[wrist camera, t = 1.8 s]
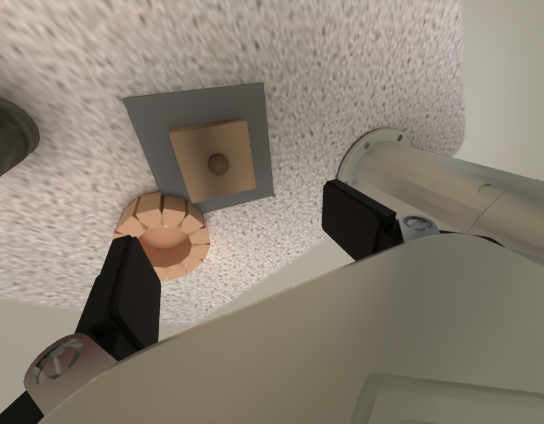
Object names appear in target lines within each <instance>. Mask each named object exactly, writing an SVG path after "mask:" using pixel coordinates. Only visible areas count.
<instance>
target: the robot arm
mask: <svg viewBox="0 0 544 424" xmlns="http://www.w3.org/2000/svg"><path fill="white" fill-rule="evenodd" d="M322 228H323V230H324V231H325V232H326V233H327V234H328V235H329V236H330V237H331V238H332V239H333V240H334V241H335V242H336V243H337V244H338V245H339V246H341V248H342V249H343V250H345V251H346V252H347V253H348V254H349V255H350V256H351V257H352V258H353V259H354V260H355V262H353V263H350V264H348V265H345V266H343V267H340V268H338V269H335V270H333V271H330V272H328V273H325V274H322V275H320V276H318V277H315V278H313V279H310V280H308V281H305V282H303V283H300V284H298V285H295V286H293V287H290V288H288V289H285V290H283V291H280V292H278V293H275V294H273V295H270V296H268V297H265V298H263V299H260V300H258V301H256V302H253V303H251V304H248V305H246V306H243V307H241V308H238V309H236V310H234V311H232V312H229V313H226V314H224V315H221V316H219V317H217V318H214V319H211V320H209V321H207V322H204V323H202V324H199V325H197V326H195V327H192V328H190V329H188V330H185V331H183V332H181V333H179V334H176V335H174V336H171V337H169V338H167V339H164V340H162V341H160V342H158V336H159V316H160V297H161V282H160V279H159V277H158V275H157V273H156V271H155V270H154V268H153V266H152V264H151V262H150V260H149V258H148V257H147V255H146V253H145V251H144V249H143V247H142V245H141V244H140V242H139V240H138V238H137V237H136V236H135V237H132V236H131V235H126V236H122V237H118V238H115V239H113V241H112V244H111V246H110V249H109V251H108V254H107V257H106V259H105V262H104V265H103V267H102V270H101V273H100V275H99V276H97V278H96V279H95V282H94V284H93V287H92V290H91V292H90V295H89V297H88V300H87V302H86V305H85V308H84V310H83V313H82V315H81V318H80V320H79V323H78V326H77V328H76V331H75V333H74V334H71V335H68V336H65V337H63V338H61V339H59V340H57V341H56V342H54V343H53V344H52V345H50V346H49V347H47V348H46V349H45V350H44V351H43V352H42V353H41V354H40V355H38V357H37V358H36V359H35V360H34V361H33V362H32V364H31V365H30V367H29V368H28V370H27V372H26V374H25V377H24V386H25V389H26V391H25V392H24V393H23V394H22V395H21V396H20V397H18V398H17V399H16V400H15V401H14V402H13V403H12V404H11V405H10V406H9V407H7V408H6V409H5V410H4V411H3V412H2V413H1V414H0V424H544V181H540V180H537V179H532V178H528V177H524V176H520V175H516V174H513V173H509V172H504V171H501V170H497V169H494V168H490V167H486V166H482V165H478V164H474V163H471V162H467V161H463V160H459V159H455V158H452V157H448V156H444V155H440V154H436V153H432V152H429V151H425V150H421V149H417V148H413V147H411V143H410V141H409V139H408V137H407V136H406V135H405V134H404V133H402V132H401V131H399V130H395V129H391V128H382V129H377V130H375V131H373V132H370V133H368V134H367V135H365V136H364V137H362V138H361V139H360V140H359V141H358V142H357V143H356V144H355V145H354V146H353V147H352V148H351V150H350V151H349V152H348V154H347V155H346V157H345V159H344V161H343V163H342V165H341V167H340V170H339V174H338V178H337V179H334V180H330V181H327V182H326V184H325V185H324V187H323V206H322Z"/></svg>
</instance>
